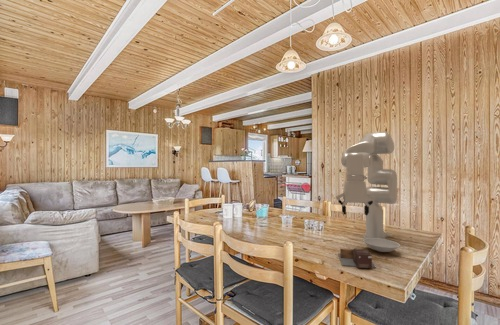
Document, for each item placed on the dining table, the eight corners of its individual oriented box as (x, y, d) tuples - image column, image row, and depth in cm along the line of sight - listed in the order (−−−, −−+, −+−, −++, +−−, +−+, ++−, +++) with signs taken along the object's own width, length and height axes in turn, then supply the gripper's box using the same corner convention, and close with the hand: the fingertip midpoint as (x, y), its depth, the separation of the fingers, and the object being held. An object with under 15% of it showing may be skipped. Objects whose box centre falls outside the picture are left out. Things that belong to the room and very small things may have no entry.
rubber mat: (367, 256, 125) (367, 255, 125) (375, 268, 112) (375, 267, 112) (338, 254, 128) (338, 253, 128) (342, 266, 115) (342, 264, 115)
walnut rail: (368, 258, 121) (368, 250, 121) (369, 259, 120) (369, 251, 120) (340, 256, 124) (340, 248, 124) (340, 257, 123) (340, 249, 123)
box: (352, 261, 118) (357, 268, 111) (352, 248, 118) (357, 254, 111) (366, 261, 118) (372, 268, 110) (366, 249, 117) (372, 255, 110)
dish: (401, 251, 133) (401, 241, 133) (399, 260, 121) (399, 249, 121) (365, 244, 143) (365, 236, 142) (360, 252, 131) (360, 243, 131)
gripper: (372, 178, 122) (372, 213, 122) (335, 177, 125) (335, 212, 125) (377, 179, 114) (377, 216, 115) (337, 179, 118) (337, 215, 118)
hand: (355, 214), depth 120 cm, fingers open, 9 cm apart
